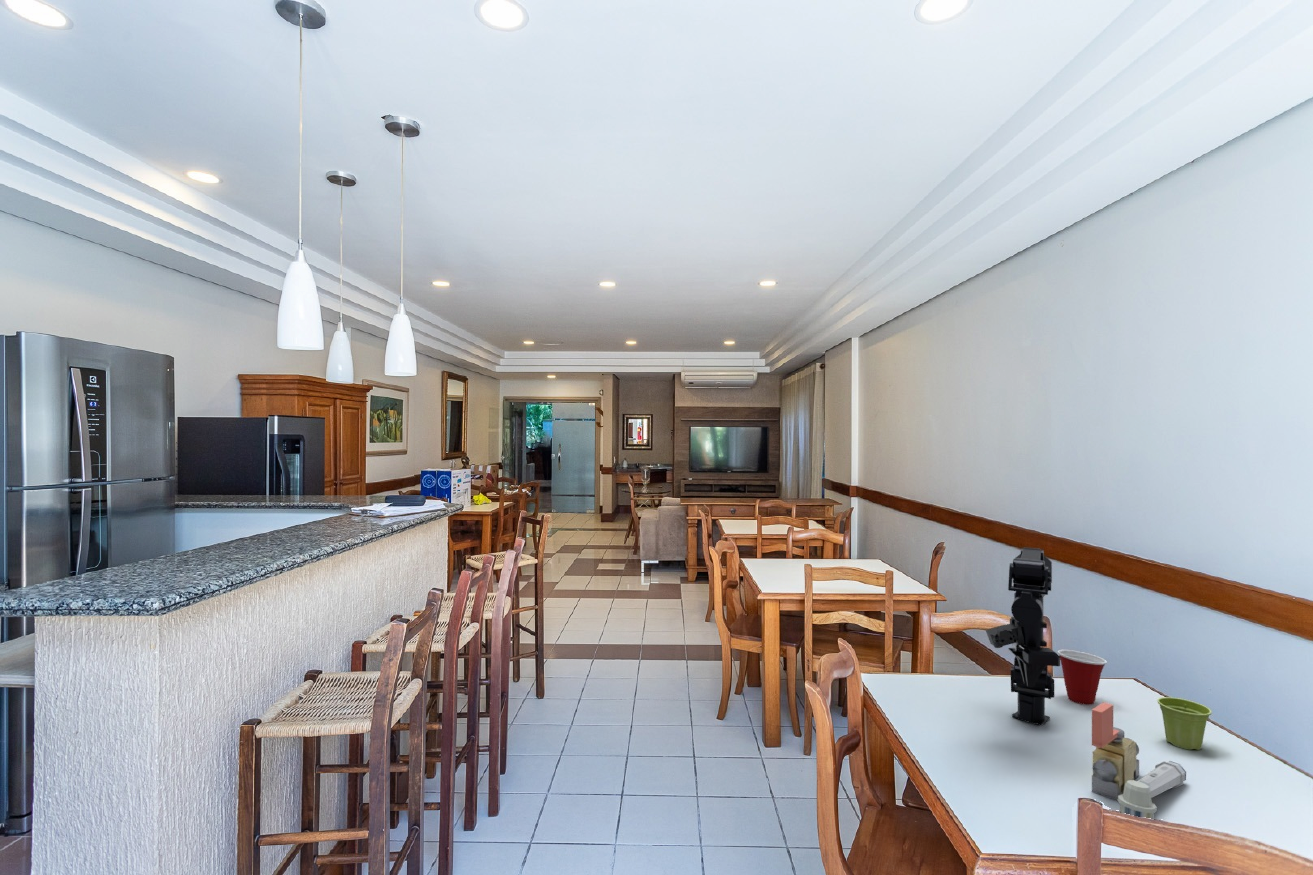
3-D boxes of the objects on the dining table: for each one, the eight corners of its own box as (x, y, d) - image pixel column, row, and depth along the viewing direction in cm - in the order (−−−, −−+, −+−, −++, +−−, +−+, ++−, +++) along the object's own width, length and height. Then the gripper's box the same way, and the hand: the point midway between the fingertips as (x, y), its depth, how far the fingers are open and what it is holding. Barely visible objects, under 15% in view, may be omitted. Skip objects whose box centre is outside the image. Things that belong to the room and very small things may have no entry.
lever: (1108, 730, 127) (1108, 695, 127) (1126, 735, 125) (1126, 700, 125) (1087, 745, 121) (1087, 708, 121) (1106, 751, 118) (1106, 713, 118)
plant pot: (1212, 744, 143) (1212, 705, 143) (1210, 758, 136) (1210, 717, 136) (1159, 731, 149) (1159, 693, 150) (1155, 744, 143) (1155, 705, 143)
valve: (1114, 765, 133) (1114, 720, 133) (1142, 774, 129) (1142, 728, 129) (1089, 791, 122) (1089, 742, 122) (1118, 801, 119) (1118, 751, 119)
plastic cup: (1117, 709, 162) (1117, 661, 162) (1074, 708, 162) (1074, 660, 162) (1089, 693, 173) (1089, 648, 173) (1048, 692, 173) (1048, 647, 173)
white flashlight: (1191, 765, 125) (1150, 787, 110) (1190, 801, 125) (1148, 827, 110) (1158, 755, 129) (1114, 774, 114) (1157, 789, 129) (1112, 813, 114)
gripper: (977, 604, 156) (977, 669, 155) (1004, 623, 137) (1003, 696, 137) (1028, 607, 154) (1027, 673, 153) (1061, 626, 135) (1061, 701, 135)
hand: (1028, 685), depth 144 cm, fingers closed
